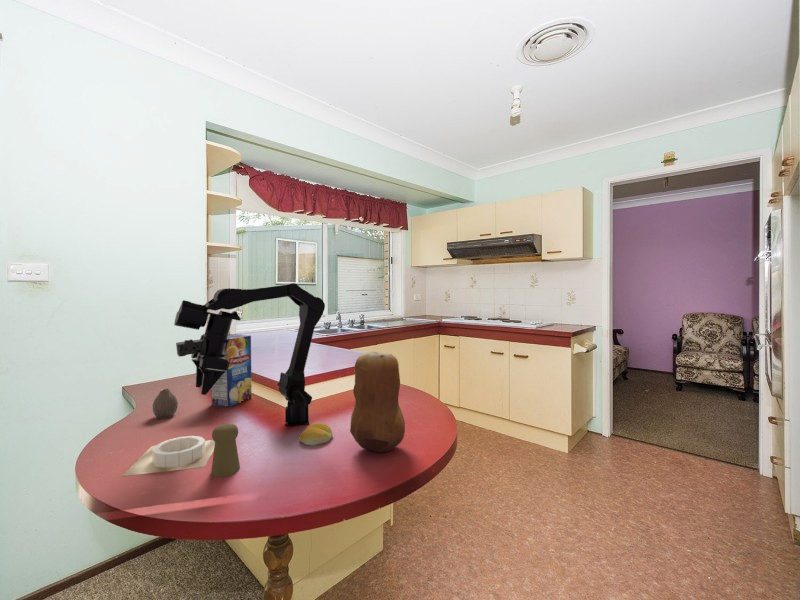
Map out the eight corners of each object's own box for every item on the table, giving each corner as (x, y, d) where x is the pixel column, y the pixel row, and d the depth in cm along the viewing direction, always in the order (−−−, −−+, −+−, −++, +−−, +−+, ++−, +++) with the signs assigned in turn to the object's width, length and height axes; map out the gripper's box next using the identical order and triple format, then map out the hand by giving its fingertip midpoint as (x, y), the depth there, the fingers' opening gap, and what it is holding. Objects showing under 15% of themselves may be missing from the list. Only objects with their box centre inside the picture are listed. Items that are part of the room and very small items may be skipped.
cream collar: (209, 445, 93) (208, 434, 93) (197, 464, 83) (197, 451, 83) (163, 450, 91) (162, 438, 91) (145, 470, 81) (145, 456, 80)
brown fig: (147, 418, 117) (147, 391, 117) (168, 412, 123) (168, 386, 123) (162, 421, 114) (161, 393, 114) (182, 414, 121) (182, 388, 121)
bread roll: (295, 445, 96) (294, 430, 96) (309, 433, 105) (309, 419, 105) (324, 448, 95) (324, 432, 95) (336, 434, 103) (336, 420, 103)
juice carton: (236, 396, 142) (235, 334, 141) (251, 398, 139) (251, 335, 139) (211, 405, 131) (210, 338, 130) (227, 407, 128) (226, 339, 128)
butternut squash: (400, 437, 101) (399, 347, 101) (409, 458, 88) (409, 355, 87) (349, 440, 99) (348, 348, 98) (351, 463, 85) (350, 357, 85)
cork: (228, 483, 77) (228, 431, 77) (203, 480, 78) (203, 429, 78) (246, 469, 83) (245, 421, 82) (223, 467, 84) (222, 419, 84)
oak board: (220, 443, 97) (220, 439, 97) (204, 471, 82) (204, 466, 82) (151, 449, 93) (151, 446, 93) (121, 480, 78) (121, 476, 78)
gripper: (179, 324, 102) (162, 380, 100) (188, 330, 87) (169, 395, 85) (221, 332, 108) (206, 385, 106) (236, 338, 93) (220, 400, 91)
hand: (200, 390), depth 97 cm, fingers open, 9 cm apart
